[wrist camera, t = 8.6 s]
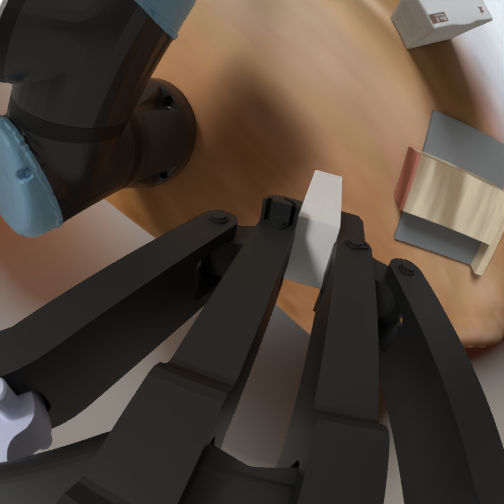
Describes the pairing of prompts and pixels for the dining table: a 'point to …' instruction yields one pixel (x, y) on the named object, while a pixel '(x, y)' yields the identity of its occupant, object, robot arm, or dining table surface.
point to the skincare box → (437, 19)
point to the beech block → (449, 196)
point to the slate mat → (468, 158)
